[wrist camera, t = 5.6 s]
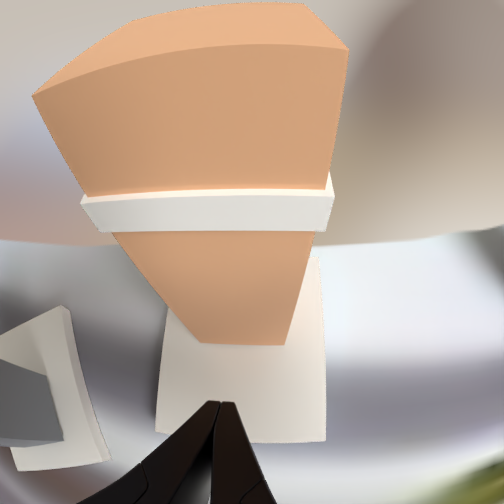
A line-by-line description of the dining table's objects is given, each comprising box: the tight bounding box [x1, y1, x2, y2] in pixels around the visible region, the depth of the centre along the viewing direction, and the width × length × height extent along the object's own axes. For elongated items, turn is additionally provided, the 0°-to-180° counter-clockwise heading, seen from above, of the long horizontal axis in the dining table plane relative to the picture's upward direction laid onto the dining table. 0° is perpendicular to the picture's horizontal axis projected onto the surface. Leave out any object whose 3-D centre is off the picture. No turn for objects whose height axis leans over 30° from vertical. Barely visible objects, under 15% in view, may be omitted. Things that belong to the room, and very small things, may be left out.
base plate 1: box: [0, 305, 112, 471], centre depth 13 cm, size 11×9×1 cm
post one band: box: [32, 2, 349, 345], centre depth 10 cm, size 5×5×14 cm
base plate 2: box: [155, 257, 326, 443], centre depth 15 cm, size 11×9×1 cm
